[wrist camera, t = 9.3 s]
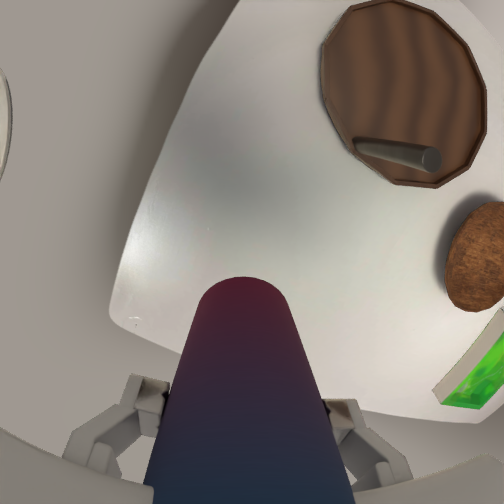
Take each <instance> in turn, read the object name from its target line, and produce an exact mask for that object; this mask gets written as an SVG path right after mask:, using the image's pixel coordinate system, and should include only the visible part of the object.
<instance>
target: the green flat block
mask: <svg viewBox="0 0 504 504" xmlns="http://www.w3.org/2000/svg"><path fill="white" fill-rule="evenodd" d="M503 384H504V312H503V311H502V310H501V309H500V308H499V310H498V311H497V312H496V314H495V315H494V317H493V318H492V320H491V321H490V322H489V324H488V325H487V326H486V328H485V329H484V331H483V332H482V333H481V334H480V336H479V337H478V338H477V340H476V341H475V342H474V343H473V345H472V346H471V347H470V348H469V350H468V351H467V352H466V353H465V354H464V356H463V357H462V358H461V359H460V360H459V361H458V363H457V364H456V365H455V366H454V367H453V368H452V369H451V370H450V372H449V373H448V374H447V375H446V376H445V377H444V378H443V379H442V380H441V381H440V382H439V383H438V384H437V385H436V386H435V387H434V388H433V392H434V394H435V396H436V397H437V399H438V401H439V403H440V404H442V405H449V406H456V407H463V408H471V409H480V408H481V407H482V406H483V405H484V404H485V403H486V402H487V401H488V400H489V399H490V398H491V397H492V396H493V395H494V394H495V393H496V392H497V391H498V389H499V388H500V387H501V386H502V385H503Z"/></svg>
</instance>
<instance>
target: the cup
mask: <svg viewBox="0 0 504 504" xmlns="http://www.w3.org/2000/svg"><path fill="white" fill-rule="evenodd" d="M143 484H144V485H148V486H152V487H153V489H154V495H153V503H152V504H356V503H355V499H354V496H353V491H352V488H351V485H350V482H349V479H348V476H347V473H346V470H345V467H344V464H343V461H342V458H341V455H340V452H339V449H338V446H337V443H336V440H335V437H334V434H333V431H332V428H331V425H330V422H329V419H328V416H327V413H326V411H325V408H324V405H323V402H322V399H321V396H320V393H319V390H318V387H317V385H316V382H315V379H314V376H313V373H312V370H311V367H310V365H309V362H308V359H307V356H306V353H305V350H304V348H303V345H302V342H301V339H300V336H299V334H298V331H297V328H296V325H295V322H294V320H293V317H292V314H291V311H290V309H289V306H288V303H287V301H286V299H285V297H284V296H283V295H282V293H281V292H280V291H279V290H278V289H277V288H276V287H274V286H273V285H272V284H270V283H268V282H266V281H264V280H260V279H257V278H253V277H234V278H229V279H225V280H223V281H221V282H218V283H216V284H215V285H213V286H212V287H211V288H209V289H208V290H207V291H206V292H205V293H204V295H203V296H202V298H201V300H200V302H199V304H198V307H197V310H196V313H195V316H194V319H193V322H192V325H191V328H190V331H189V334H188V337H187V340H186V343H185V346H184V349H183V352H182V355H181V359H180V362H179V365H178V368H177V371H176V374H175V377H174V380H173V384H172V387H171V390H170V394H169V396H168V400H167V403H166V406H165V409H164V413H163V416H162V419H161V423H160V426H159V429H158V433H157V436H156V440H155V443H154V446H153V450H152V453H151V457H150V460H149V464H148V467H147V472H146V475H145V479H144V482H143Z"/></svg>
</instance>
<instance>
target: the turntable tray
mask: <svg viewBox="0 0 504 504" xmlns="http://www.w3.org/2000/svg"><path fill="white" fill-rule="evenodd" d="M320 74H321V87H322V91H323V99H324V103H325V105H326V107H327V110H328V113H329V115H330V117H331V120H332V122H333V124H334V126H335V128H336V130H337V131H338V133H339V135H340V136H341V138H342V139H343V141H344V142H345V143H346V145H347V147H348V149H349V151H350V152H351V153H352V154H353V155H355V156H356V157H357V158H359V159H360V160H361V161H362V162H363V163H364V164H366V165H367V166H368V167H369V168H371V169H372V170H374V171H375V172H377V173H378V174H380V175H381V176H383V177H384V178H385V179H386V180H388V181H389V182H390V183H392V184H395V185H402V186H413V187H423V188H433V189H436V188H437V189H438V188H439V187H441V186H443V185H444V184H446V183H448V182H449V181H451V180H452V179H454V178H456V177H457V176H459V175H461V174H462V173H464V172H465V171H467V170H469V168H470V167H471V165H472V163H473V161H474V159H475V157H476V155H477V153H478V151H479V149H480V147H481V145H482V142H483V140H484V138H485V136H486V134H487V133H486V132H487V89H485V88H486V86H485V83H484V80H483V78H482V75H481V73H480V70H479V68H478V65H477V63H476V61H475V59H474V56H473V54H472V52H471V50H470V48H469V46H468V44H467V43H466V42H465V41H464V40H463V39H462V38H461V37H460V36H459V35H458V34H457V33H456V32H455V31H454V30H453V29H452V28H451V27H450V26H449V25H448V24H447V23H446V22H445V21H444V20H443V19H442V18H441V17H440V16H439V15H438V14H437V13H436V12H434V11H432V10H430V9H427V8H425V7H422V6H419V5H417V4H414V3H411V2H408V1H405V0H371V1H367V2H363V3H360V4H356V5H352V6H350V7H349V8H348V9H347V10H346V11H345V13H344V14H343V16H342V17H341V18H340V20H339V21H338V23H337V24H336V25H335V26H334V28H333V29H332V31H331V33H330V34H329V36H328V37H327V39H326V40H325V42H324V43H323V46H322V59H321V72H320Z"/></svg>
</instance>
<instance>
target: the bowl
mask: <svg viewBox="0 0 504 504" xmlns="http://www.w3.org/2000/svg"><path fill="white" fill-rule="evenodd" d="M445 284H446V288H447V292H448V296H449V298H450V300H451V301H452V303H453V304H454V305H455V306H456V307H458V308H460V309H462V310H464V311H468V312H479V311H483V310H486V309H489V308H491V307H492V306H494V305H495V304H496V303H497V302H499V301H500V300H501V299H502V298H503V296H504V202H489V203H486V204H483V205H482V206H480V207H479V208H477V209H476V210H474V211H473V212H471V213H470V214H469V215H468V217H467V218H466V219H465V221H464V222H463V224H462V225H461V227H460V228H459V229H458V231H457V233H456V235H455V237H454V239H453V241H452V243H451V246H450V250H449V253H448V256H447V260H446V266H445Z"/></svg>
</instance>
